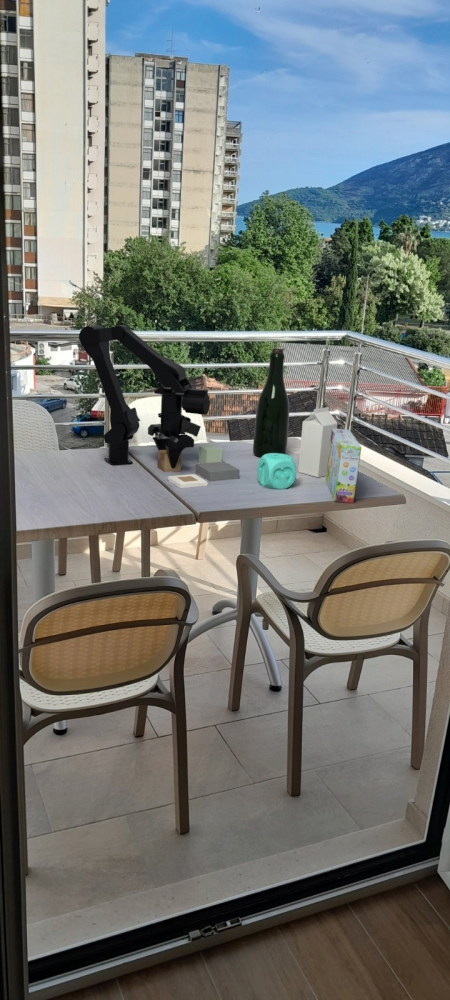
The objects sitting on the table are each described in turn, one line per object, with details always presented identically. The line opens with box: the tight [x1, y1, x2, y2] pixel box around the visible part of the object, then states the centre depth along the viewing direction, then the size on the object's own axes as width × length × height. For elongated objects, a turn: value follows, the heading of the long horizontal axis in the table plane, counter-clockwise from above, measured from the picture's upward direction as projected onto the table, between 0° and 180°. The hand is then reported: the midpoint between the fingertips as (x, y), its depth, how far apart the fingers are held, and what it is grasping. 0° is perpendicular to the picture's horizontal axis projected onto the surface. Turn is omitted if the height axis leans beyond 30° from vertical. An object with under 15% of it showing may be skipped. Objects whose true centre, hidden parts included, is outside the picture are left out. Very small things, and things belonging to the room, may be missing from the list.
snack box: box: [325, 428, 362, 504], centre depth 198 cm, size 21×6×15 cm, turn 179°
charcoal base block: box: [194, 461, 241, 482], centre depth 208 cm, size 9×9×3 cm
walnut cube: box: [156, 449, 183, 473], centre depth 211 cm, size 5×5×5 cm
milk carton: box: [297, 406, 338, 478], centre depth 214 cm, size 7×7×19 cm
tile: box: [167, 473, 209, 489], centre depth 199 cm, size 8×8×1 cm
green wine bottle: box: [252, 347, 290, 458], centre depth 229 cm, size 10×10×33 cm
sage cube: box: [198, 444, 223, 464], centre depth 219 cm, size 5×5×5 cm
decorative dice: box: [256, 453, 297, 490], centre depth 201 cm, size 8×8×8 cm
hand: (169, 465), depth 211 cm, fingers closed on walnut cube, 5 cm apart
